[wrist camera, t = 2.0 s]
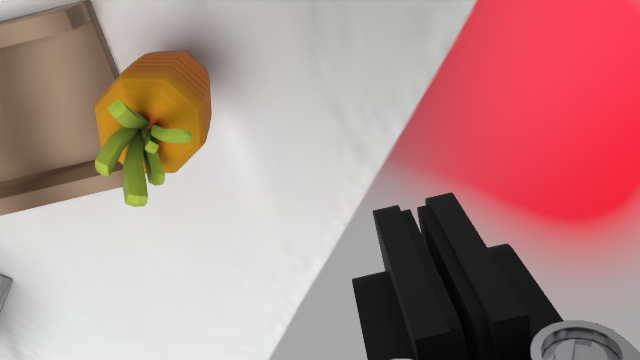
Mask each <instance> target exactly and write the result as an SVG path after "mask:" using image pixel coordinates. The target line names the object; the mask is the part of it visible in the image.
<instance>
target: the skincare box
mask: <svg viewBox="0 0 640 360" xmlns="http://www.w3.org/2000/svg"><path fill="white" fill-rule="evenodd" d="M11 284H12V279H9V278H6V277H4V276H1V275H0V310H1V308H2V305H3V303H4V300H5V298H6V296H7V294H8V291H9V289H10V286H11Z"/></svg>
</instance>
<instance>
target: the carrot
mask: <svg viewBox="0 0 640 360" xmlns="http://www.w3.org/2000/svg"><path fill="white" fill-rule="evenodd" d="M95 114H96V120H97V126H98V132H99V139H100V145H101V150H100V152H99V154H98V156H97V157H96V159H95V168H96V170H97V172H99V173H100V174H101V175H102V176H107V177H109V176H110V174H111V172H112V170H113V169H114V167H115V165H116V163H117V161H119V162H120V163H121V164H123V190H124V197H125V204H128V205H131V206H134V207H137V206H144V205H145V204H146V203H147V199H148V194H147V185H146V178H145V173H147V177H148V181H149V182H150V183H152V184H153V185H155V186H156V185H162V184H163V182H164V177H165V175H164V173H175V172H176V171H178V170H179V169H180V168H181V167H182V166H183V165H184V164H185V163H186V162H187V161H188V160H189V159H190V158H191V157H192V156H193V155H194V154H195V153H196V152H197V151H198V150H199V149H200V148H201V147H202V146H203V145H204V143H205V142H206V138H207V134H208V130H209V126H210V120H211V114H212V113H211V99H210V84H209V76H208V72H207V70H206V68H204V67H203V66H202V65H201V64H200V63H199V62H198V61H197V60H196V59H195V58H193V57H192V56H191V55H190V54H189V53H188V52H153V53H149V54H145V55H143V56H142V57H140V58H139V59H138V60H136V61H135V62H134V63H132V64H131V65H130V66H129V67H128V68H127V69H125V70H124V71H123V72H122V73H121V75H120V76H119V77H118V78H117V79H116V80H115V81H114V82H113V84H112V85H111V86H110V87H109V88H108V89H107V90H106V91H105V92H104V94H103V95H102V96H101V97H100V98H99V99H98V100H97V101H96V103H95Z"/></svg>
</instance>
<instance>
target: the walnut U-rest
mask: <svg viewBox="0 0 640 360" xmlns="http://www.w3.org/2000/svg"><path fill="white" fill-rule="evenodd" d="M118 77H119V73H118V71H117V68H116V66H115V63H114V61H113V58H112V56H111V53H110V50H109V48H108V45H107V43H106V40H105V38H104V35H103V33H102V30H101V28H100V25H99V23H98V20H97V17H96V15H95V12H94V10H93V7H92V5H91V2H90V0H85V1H81V2H77V3H73V4H69V5H65V6H61V7H57V8H53V9H49V10H45V11H41V12H37V13H33V14H29V15H25V16H21V17H17V18H13V19H9V20H5V21H1V22H0V216H1V215H5V214H9V213H13V212H18V211H22V210H26V209H30V208H34V207H39V206H43V205H47V204H51V203H56V202H60V201H64V200H68V199H72V198H77V197H81V196H85V195H89V194H93V193H98V192H102V191H106V190H110V189H114V188H119V187H123V164H121V163H120V162H119V161H117V163H116V165H115V167H114V169H113V170H112V172H111V174H110V176H109V177H107V176H102V175H101V174H100V173H99V172H97V170H96V168H95V159H96V157H97V156H98V154H99V152H100V150H101V145H100V139H99V132H98V126H97V120H96V114H95V103H96V101H97V100H98V99H99V98H100V97H101V96H102V95H103V94H104V92H105V91H106V90H107V89H108V88H109V87H110V86H111V85H112V84H113V82H114V81H115V80H116V79H117V78H118Z"/></svg>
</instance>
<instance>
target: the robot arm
mask: <svg viewBox="0 0 640 360" xmlns="http://www.w3.org/2000/svg"><path fill="white" fill-rule="evenodd" d="M425 203H426V206H421V207H418V208H417V211H418V217H419V223H420V229H421V233H420V231H419V228H418V226H417V224H416V222H415V219H414V217H413V215H412V213H411V210H410V209H409V210H404V211H401V210H400V208H399V206H398V205H396V206H392V207H388V208H383V209H378V210H374V211H373V216H374V220H375V225H376V230H377V234H378V239H379V244H380V248H381V253H382V258H383V262H384V267H385V271H384V272H380V273H376V274H371V275H367V276H363V277H359V278H354V279H352V283H353V288H354V293H355V298H356V303H357V308H358V312H359V318H360V323H361V328H362V333H363V338H364V343H365V348H366V353H367V358H368V360H640V352H639V351H638V350H637V349H636V348H635V347H633V346H632V345H631V344H630V343H629V342H628V341H627V340H626V339H625V338H624V337H622V336H621V335H619V334H617V333H616V332H615V331H613V330H612V329H610V328H607V327H605V326H602V325H600V324H598V323H592V322H587V321H563V320H562V318H561V317H560V315H559V314H558V312H557V311H556V310H555V308H554V307H553V305H552V304H551V303H550V301H549V300H548V298H547V297H546V295H545V294H544V292H543V291H542V290H541V288H540V287H539V285H538V284H537V283H536V281H535V280H534V278H533V277H532V276H531V274H530V273H529V271H528V270H527V268H526V267H525V265H524V264H523V263H522V261H521V260H520V258H519V257H518V256H517V254H516V253H515V252H514V250H513V248H512V247H511V246H510V245H509V244H502V245H498V246H493V247H489V248H487V247H486V245H485V243H484V242H483V240H482V239H481V237H480V235H479V234H478V232H477V231H476V229H475V228H474V226H473V225H472V223H471V221H470V220H469V218H468V216H467V215H466V213H465V212H464V210H463V209H462V207H461V205H460V204H459V202H458V201H457V199H456V197H455V196H454V194H453V193H447V194H443V195H439V196H434V197H430V198H426V202H425Z"/></svg>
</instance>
